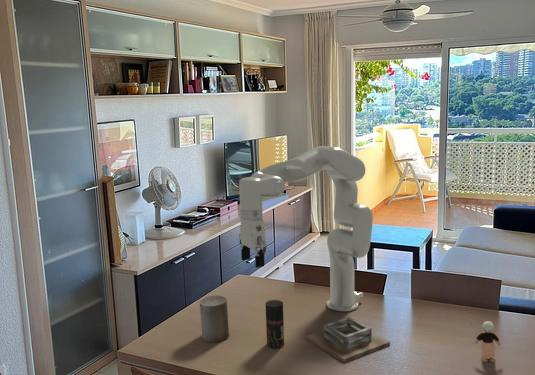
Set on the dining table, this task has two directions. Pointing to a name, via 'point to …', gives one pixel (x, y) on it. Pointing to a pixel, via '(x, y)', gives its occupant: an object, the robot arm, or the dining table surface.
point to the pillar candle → (214, 318)
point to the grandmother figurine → (488, 342)
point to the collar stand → (347, 339)
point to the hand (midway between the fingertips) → (252, 263)
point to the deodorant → (274, 324)
